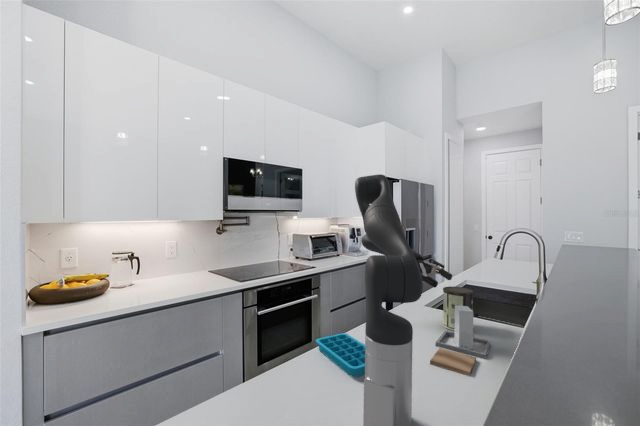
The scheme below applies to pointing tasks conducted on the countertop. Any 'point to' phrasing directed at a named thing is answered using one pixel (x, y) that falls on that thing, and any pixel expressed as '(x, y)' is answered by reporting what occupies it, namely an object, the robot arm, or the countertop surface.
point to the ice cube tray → (344, 352)
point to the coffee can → (455, 303)
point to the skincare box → (463, 327)
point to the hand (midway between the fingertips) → (444, 281)
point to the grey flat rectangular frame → (462, 350)
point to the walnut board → (453, 361)
